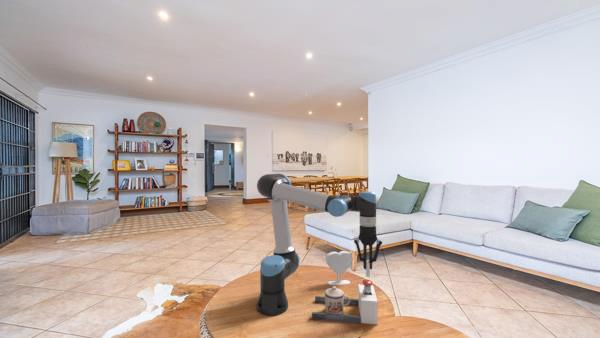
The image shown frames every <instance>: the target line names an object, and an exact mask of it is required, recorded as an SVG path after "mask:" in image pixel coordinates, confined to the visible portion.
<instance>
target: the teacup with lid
mask: <svg viewBox="0 0 600 338" xmlns="http://www.w3.org/2000/svg"><path fill="white" fill-rule="evenodd" d="M324 297H325V303H324V313H330V314H342V315H344V307H347V306H349V305H348V304H349V303H350V299H351V298H350V297H349V296H348V295H345V292H344V291H343V289H341V288H337V286H336V285H332V287H330V288H329V287H328V288H327V289H326V290H325V291H324ZM344 298H348V302H347V303H346V304H344Z"/></svg>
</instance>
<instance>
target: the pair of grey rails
mask: <svg viewBox="0 0 600 338" xmlns="http://www.w3.org/2000/svg"><path fill="white" fill-rule="evenodd" d="M314 302H315V303H321V304H322V303H324V304H325V296H321V295H319V296H318V295H315V296H314ZM347 302H348V298H344V304H346V303H347ZM347 306H359V300H358V298H350V303H349V304H348V305H347ZM311 320H320V321H321V320H322V321H332V322H341V323H342V322H343V323H352V324H353V323H354V324H356V323H357V324H362V323H361V316H360V315H352V314H330V313H326V312H315V311H314V312H313V311H312V312H311Z"/></svg>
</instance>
